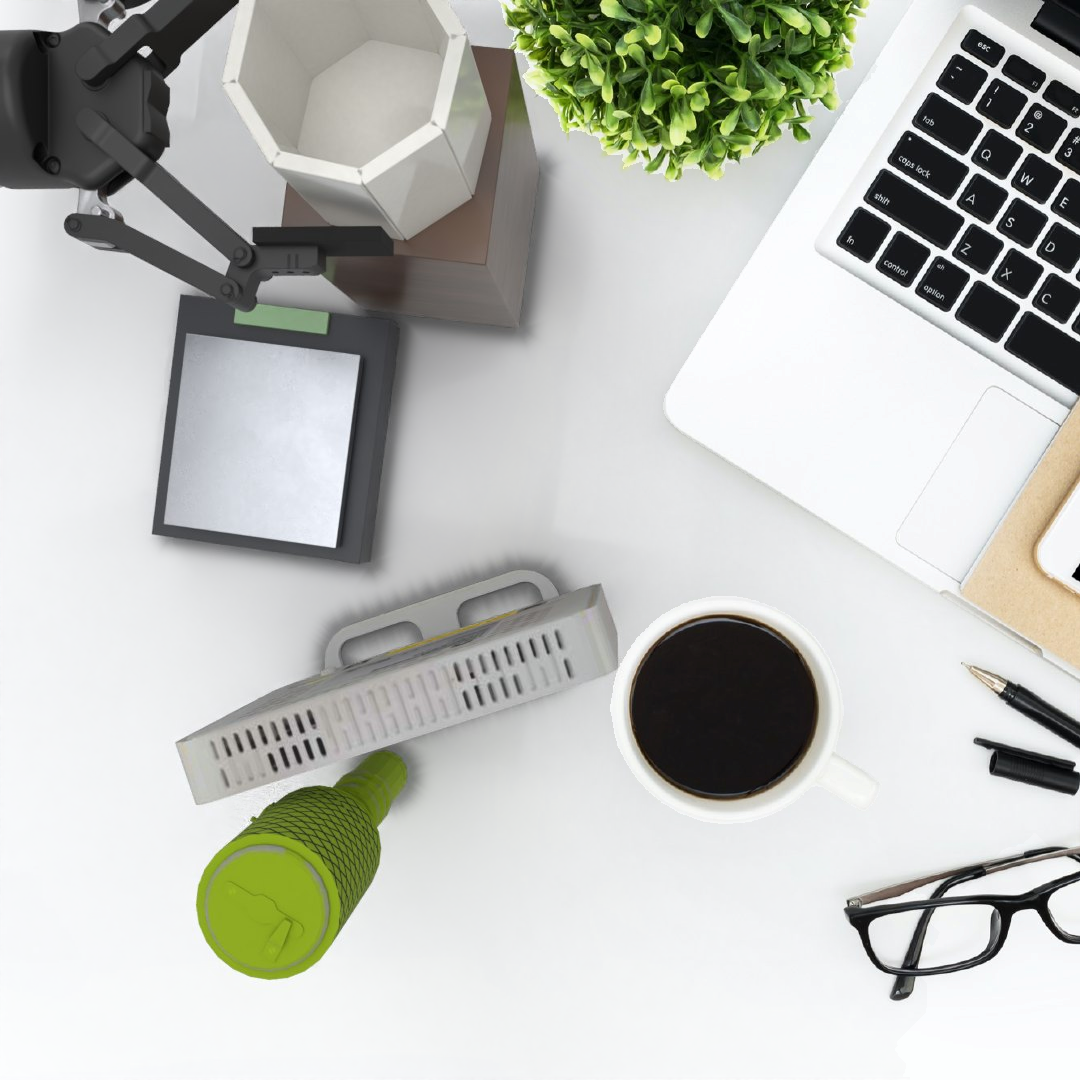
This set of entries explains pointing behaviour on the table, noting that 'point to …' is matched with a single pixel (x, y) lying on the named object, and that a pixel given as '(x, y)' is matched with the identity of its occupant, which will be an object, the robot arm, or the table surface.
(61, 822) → the table surface
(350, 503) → the scale
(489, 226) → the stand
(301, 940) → the microphone
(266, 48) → the cup
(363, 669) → the network device
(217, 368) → the scale pan
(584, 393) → the table surface
